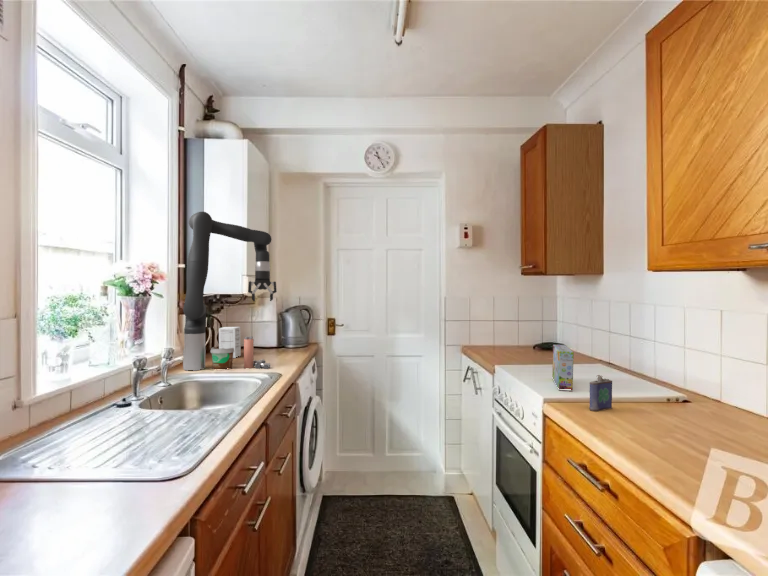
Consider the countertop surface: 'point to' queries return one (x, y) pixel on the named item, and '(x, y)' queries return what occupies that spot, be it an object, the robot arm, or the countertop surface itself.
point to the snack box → (563, 366)
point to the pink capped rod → (248, 352)
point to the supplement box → (230, 339)
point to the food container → (222, 358)
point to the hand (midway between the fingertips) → (262, 301)
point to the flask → (600, 394)
